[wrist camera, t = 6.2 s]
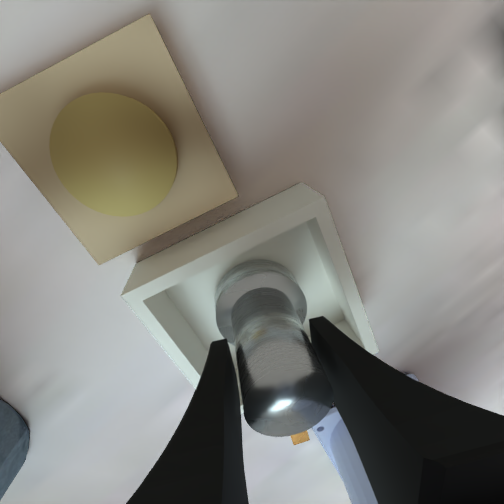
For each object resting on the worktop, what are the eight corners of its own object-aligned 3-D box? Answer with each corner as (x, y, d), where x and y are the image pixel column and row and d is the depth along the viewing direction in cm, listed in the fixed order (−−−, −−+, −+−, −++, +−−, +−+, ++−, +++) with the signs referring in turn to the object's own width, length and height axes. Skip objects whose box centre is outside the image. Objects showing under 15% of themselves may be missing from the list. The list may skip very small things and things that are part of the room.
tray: (353, 317, 18) (379, 351, 15) (219, 378, 19) (222, 422, 16) (301, 181, 14) (324, 196, 12) (135, 263, 15) (120, 296, 12)
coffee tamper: (288, 248, 15) (344, 333, 9) (305, 317, 17) (361, 426, 11) (202, 275, 15) (202, 379, 9) (229, 341, 17) (243, 464, 11)
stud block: (236, 191, 14) (240, 200, 12) (105, 256, 14) (93, 273, 13) (154, 22, 11) (145, 5, 9) (-8, 109, 11) (-44, 107, 10)
